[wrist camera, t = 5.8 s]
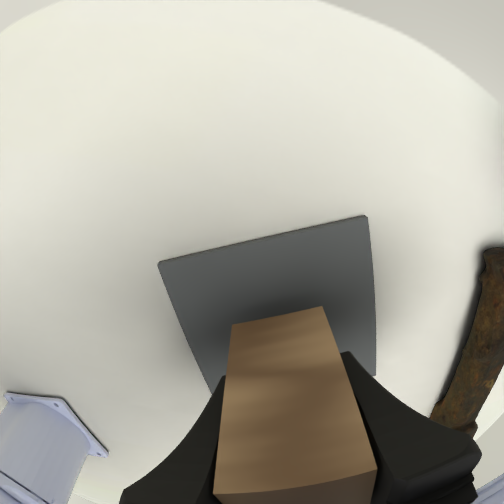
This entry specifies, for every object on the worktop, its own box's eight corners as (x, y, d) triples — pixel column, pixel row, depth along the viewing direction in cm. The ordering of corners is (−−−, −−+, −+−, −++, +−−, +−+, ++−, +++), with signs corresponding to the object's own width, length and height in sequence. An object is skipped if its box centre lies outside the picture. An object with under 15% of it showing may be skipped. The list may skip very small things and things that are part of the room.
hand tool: (475, 241, 14) (525, 273, 10) (513, 242, 14) (559, 269, 10) (400, 442, 21) (415, 481, 16) (436, 432, 21) (452, 467, 16)
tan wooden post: (253, 386, 14) (251, 530, 7) (232, 324, 13) (212, 493, 6) (330, 371, 14) (367, 512, 7) (322, 305, 13) (377, 468, 5)
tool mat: (218, 402, 18) (218, 406, 17) (159, 261, 14) (157, 264, 14) (373, 371, 17) (375, 375, 16) (364, 215, 13) (367, 217, 13)
